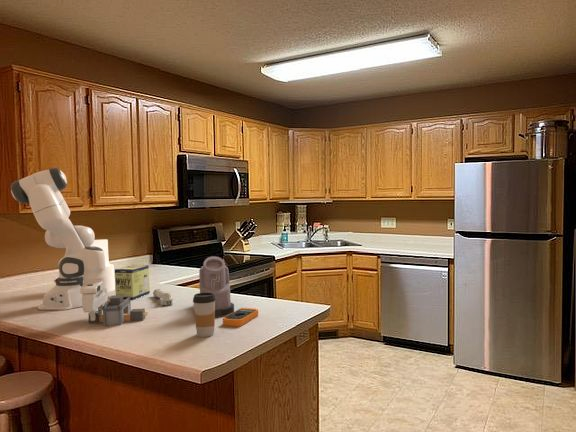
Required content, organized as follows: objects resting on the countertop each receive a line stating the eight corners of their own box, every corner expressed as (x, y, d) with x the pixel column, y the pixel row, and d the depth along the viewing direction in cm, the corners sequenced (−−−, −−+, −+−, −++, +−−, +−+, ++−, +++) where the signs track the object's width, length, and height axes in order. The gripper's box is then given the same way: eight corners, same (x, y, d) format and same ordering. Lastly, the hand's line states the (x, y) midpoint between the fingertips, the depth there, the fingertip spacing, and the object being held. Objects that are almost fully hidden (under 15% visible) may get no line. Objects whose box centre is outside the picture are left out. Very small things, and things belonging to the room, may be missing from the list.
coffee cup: (195, 331, 171) (194, 292, 171) (217, 330, 172) (216, 291, 171) (192, 338, 163) (191, 297, 162) (216, 337, 164) (214, 296, 163)
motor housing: (103, 325, 183) (102, 301, 182) (114, 315, 198) (113, 293, 197) (121, 324, 183) (119, 300, 183) (131, 315, 198) (129, 292, 198)
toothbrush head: (161, 288, 236) (173, 290, 214) (162, 301, 236) (174, 304, 214) (151, 289, 233) (162, 291, 212) (152, 302, 233) (163, 305, 211)
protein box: (115, 299, 230) (113, 269, 229) (133, 292, 245) (132, 264, 244) (133, 300, 227) (131, 269, 226) (150, 293, 242) (149, 264, 241)
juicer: (237, 316, 192) (235, 259, 190) (198, 319, 188) (196, 261, 187) (228, 300, 221) (226, 251, 220) (195, 303, 217) (193, 253, 216)
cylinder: (74, 293, 248) (71, 242, 247) (98, 286, 264) (96, 239, 263) (98, 294, 242) (96, 243, 240) (121, 288, 258) (119, 239, 256)
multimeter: (220, 326, 178) (220, 318, 178) (241, 314, 195) (241, 306, 195) (239, 328, 175) (239, 319, 175) (259, 316, 192) (259, 308, 191)
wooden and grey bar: (88, 323, 187) (88, 313, 187) (92, 320, 192) (92, 310, 192) (146, 320, 189) (145, 311, 189) (148, 317, 193) (148, 308, 193)
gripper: (96, 280, 199) (97, 311, 200) (78, 290, 179) (80, 324, 179) (110, 280, 200) (112, 310, 200) (94, 289, 179) (96, 324, 180)
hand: (96, 317), depth 190 cm, fingers open, 7 cm apart
